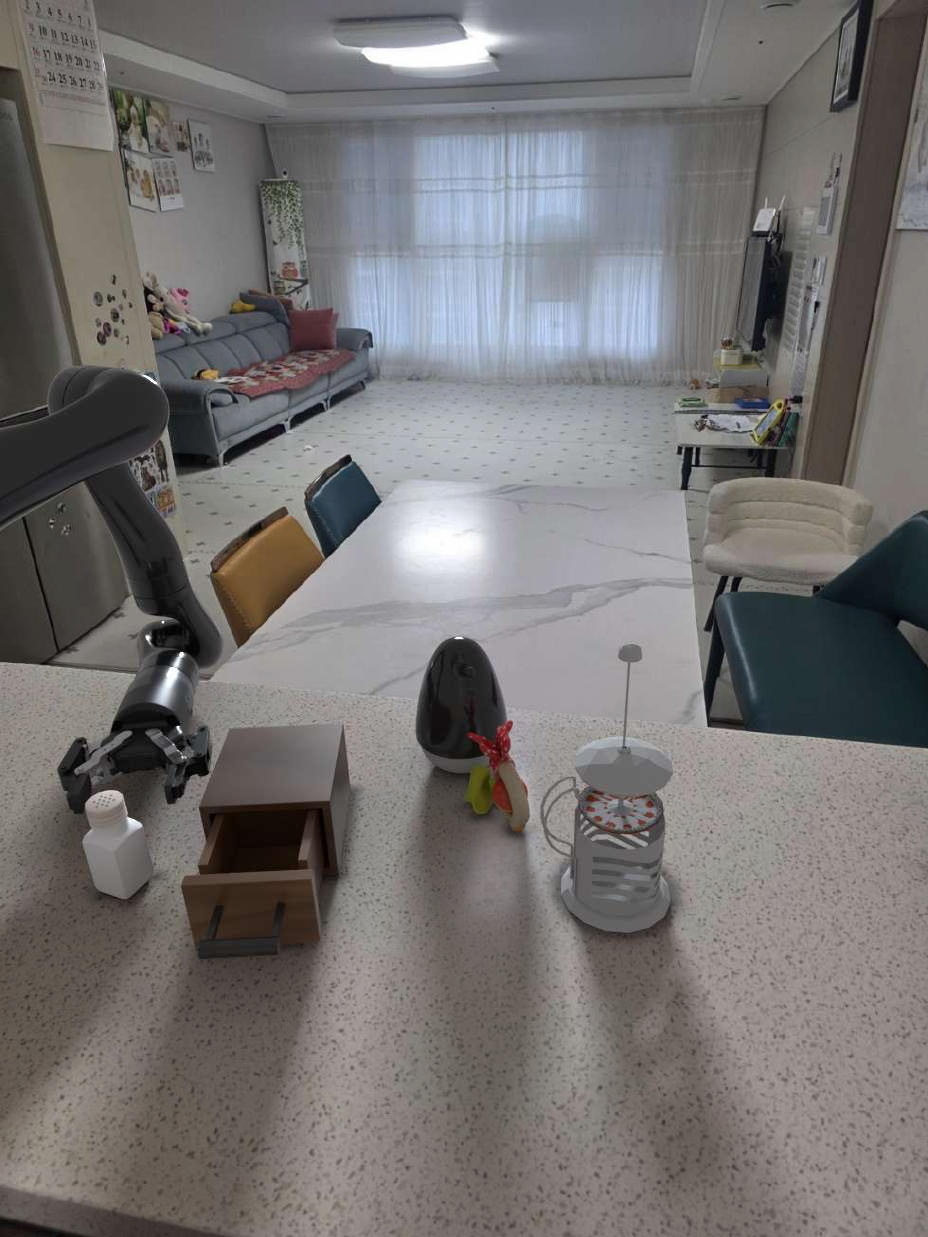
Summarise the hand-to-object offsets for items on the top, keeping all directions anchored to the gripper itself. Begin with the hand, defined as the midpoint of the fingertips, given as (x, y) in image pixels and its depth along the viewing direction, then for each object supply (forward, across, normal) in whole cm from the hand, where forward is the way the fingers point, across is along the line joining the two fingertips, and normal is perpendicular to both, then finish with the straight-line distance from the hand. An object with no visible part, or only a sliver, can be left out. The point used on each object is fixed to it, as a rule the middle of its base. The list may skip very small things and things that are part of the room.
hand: (123, 802), depth 78 cm
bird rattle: (+1, +37, +6) cm, 37 cm away
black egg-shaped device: (-9, +34, +6) cm, 35 cm away
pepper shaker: (+4, 0, +6) cm, 8 cm away
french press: (+13, +43, +6) cm, 46 cm away
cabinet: (0, +15, +6) cm, 16 cm away
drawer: (+11, +13, +5) cm, 18 cm away
